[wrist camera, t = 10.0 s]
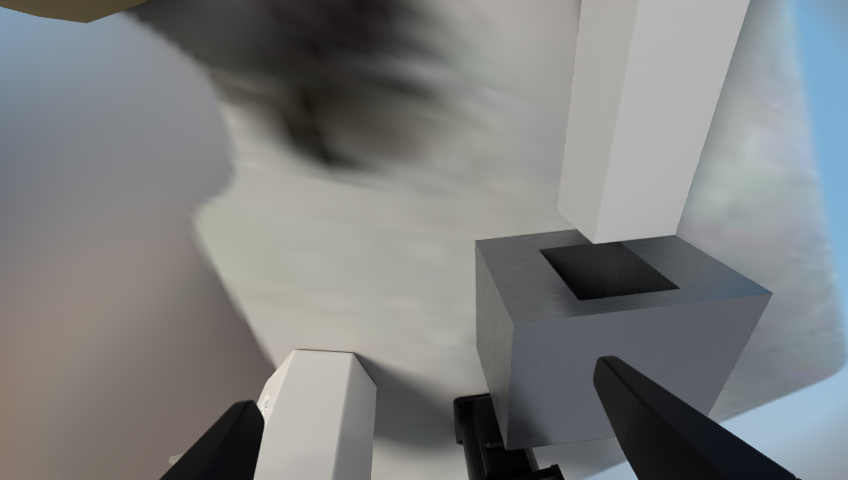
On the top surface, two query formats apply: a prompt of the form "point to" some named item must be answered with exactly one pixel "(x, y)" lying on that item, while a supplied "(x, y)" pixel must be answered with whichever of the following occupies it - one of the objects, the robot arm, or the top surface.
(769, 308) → the top surface
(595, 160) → the white and tan bar
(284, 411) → the jar
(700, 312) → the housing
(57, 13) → the squeeze bottle
